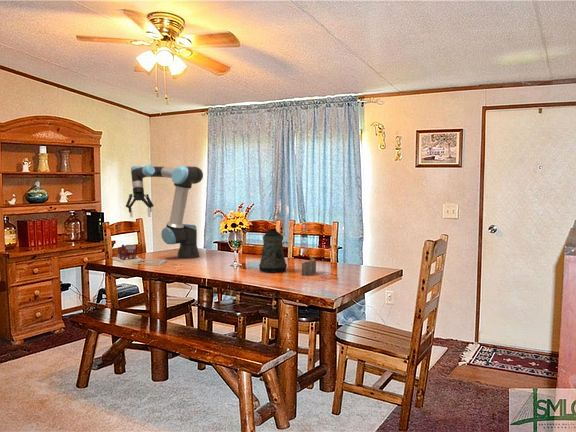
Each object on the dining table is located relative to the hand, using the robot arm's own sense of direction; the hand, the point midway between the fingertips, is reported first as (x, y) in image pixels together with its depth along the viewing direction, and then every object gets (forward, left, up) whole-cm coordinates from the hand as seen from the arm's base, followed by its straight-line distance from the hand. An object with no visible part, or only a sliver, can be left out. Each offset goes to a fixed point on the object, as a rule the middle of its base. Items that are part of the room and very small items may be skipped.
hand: (140, 216), depth 359 cm
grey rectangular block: (-122, +59, -28) cm, 138 cm away
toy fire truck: (+2, +21, -28) cm, 35 cm away
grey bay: (-18, +33, -28) cm, 47 cm away
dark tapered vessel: (-99, +49, -28) cm, 114 cm away
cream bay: (+2, +21, -28) cm, 35 cm away
